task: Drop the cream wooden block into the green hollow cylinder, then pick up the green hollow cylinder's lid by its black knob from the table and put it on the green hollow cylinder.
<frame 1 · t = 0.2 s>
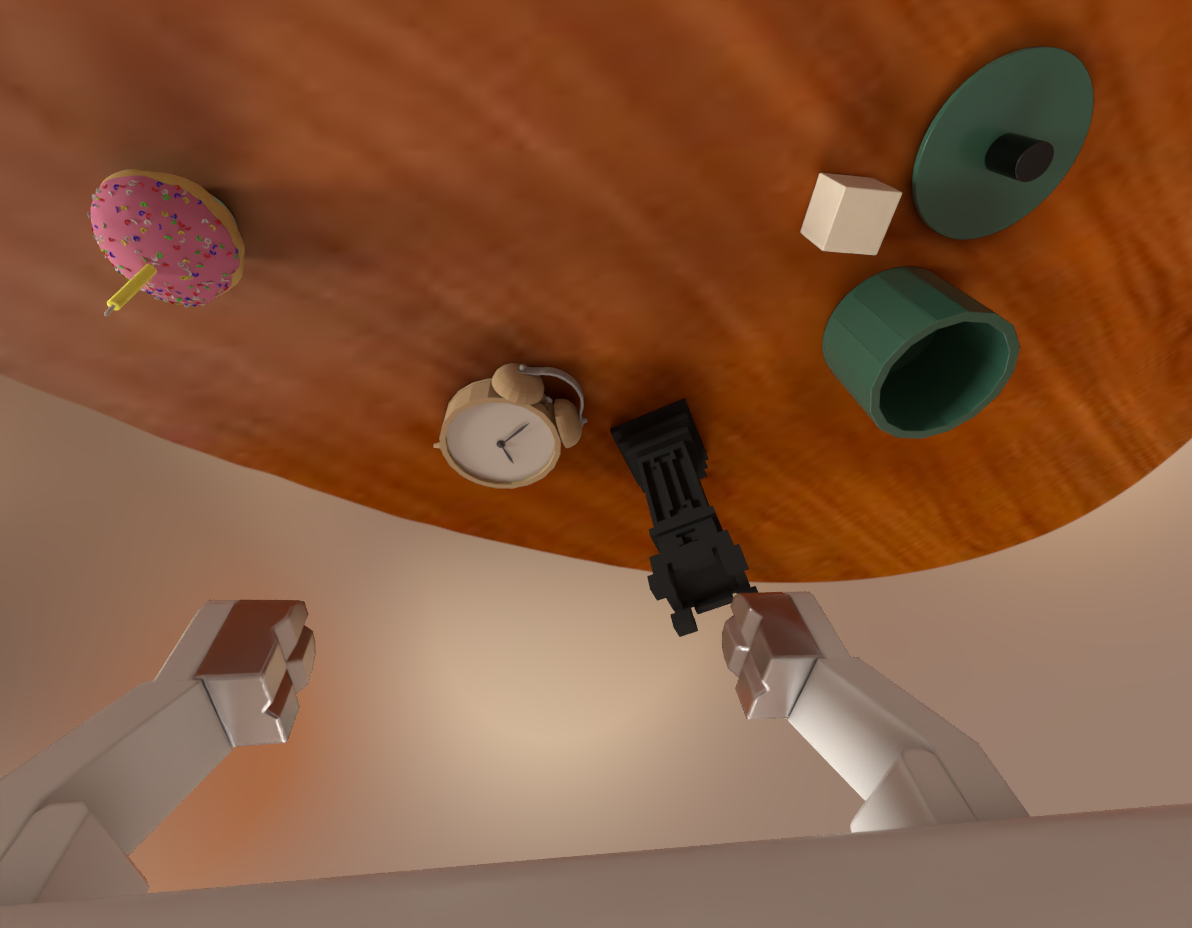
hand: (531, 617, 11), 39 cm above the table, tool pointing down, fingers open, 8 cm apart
chess piece: (659, 441, 58), on the table
green hollow cylinder: (883, 328, 52), on the table
cupcake: (201, 219, 40), on the table
lid: (996, 151, 42), point 1 cm above the table
alarm clock: (515, 412, 54), on the table
block: (835, 205, 44), on the table
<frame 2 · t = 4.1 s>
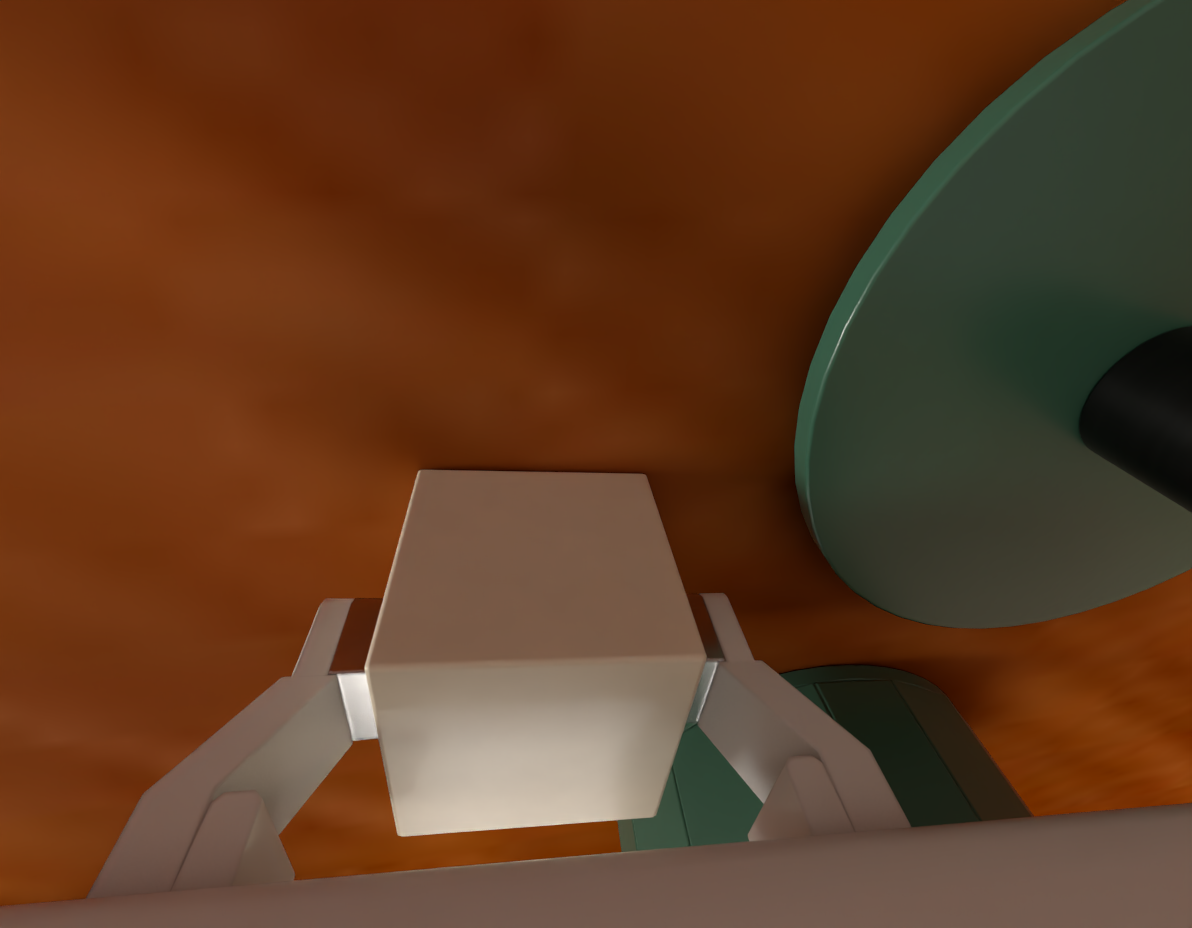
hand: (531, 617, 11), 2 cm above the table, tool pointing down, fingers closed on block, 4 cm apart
green hollow cylinder: (785, 772, 19), on the table
lid: (1120, 379, 11), point 1 cm above the table
block: (531, 554, 12), on the table, touching gripper
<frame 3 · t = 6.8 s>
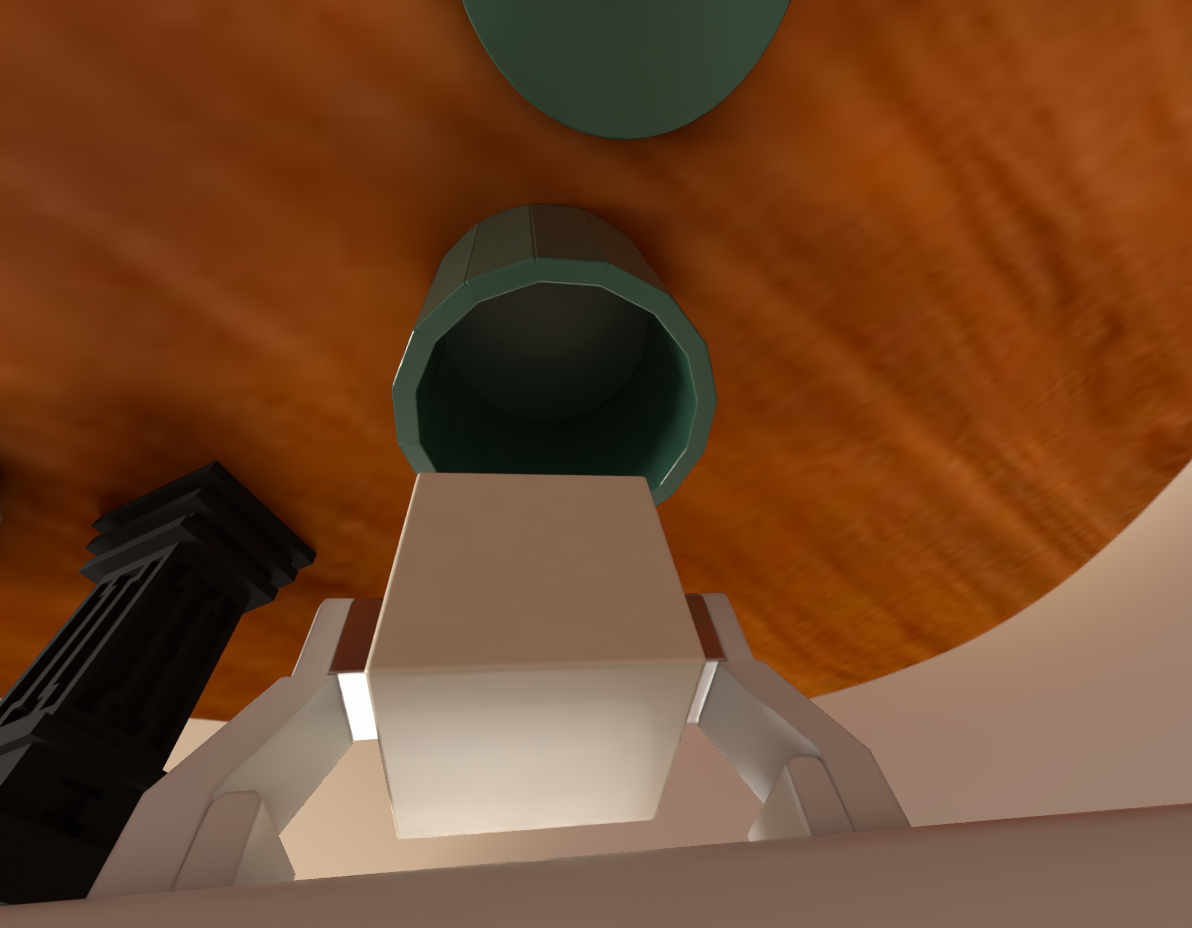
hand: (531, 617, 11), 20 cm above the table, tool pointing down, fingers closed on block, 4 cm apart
chess piece: (215, 534, 33), on the table
green hollow cylinder: (547, 328, 28), on the table
block: (531, 557, 12), point 18 cm above the table, touching gripper
when the fingers open (10 cm above the table, at t = 9.7 s): block drops 7 cm, resting on green hollow cylinder.
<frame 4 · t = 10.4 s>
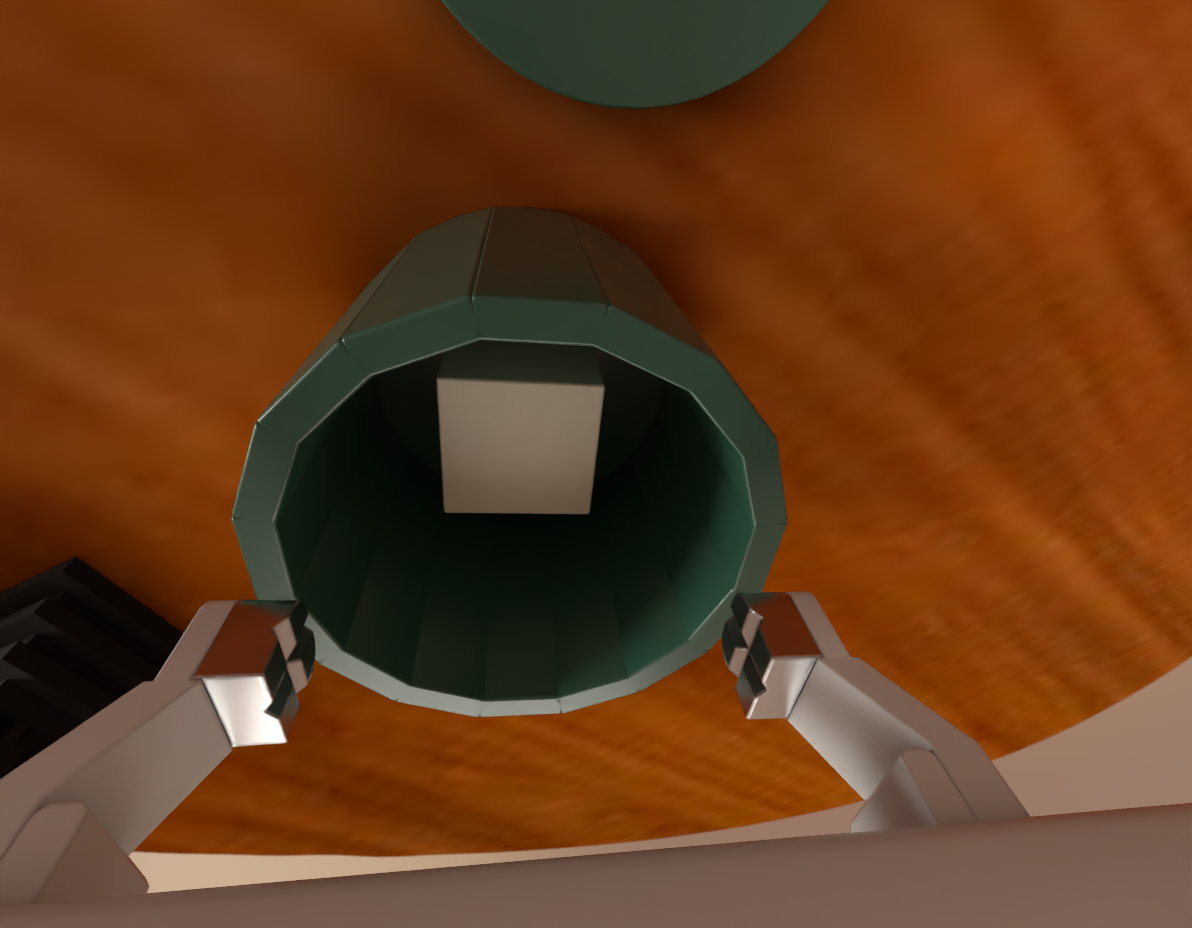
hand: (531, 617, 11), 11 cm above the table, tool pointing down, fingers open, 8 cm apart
chess piece: (89, 644, 25), on the table
green hollow cylinder: (525, 380, 20), on the table
block: (520, 386, 20), resting on green hollow cylinder
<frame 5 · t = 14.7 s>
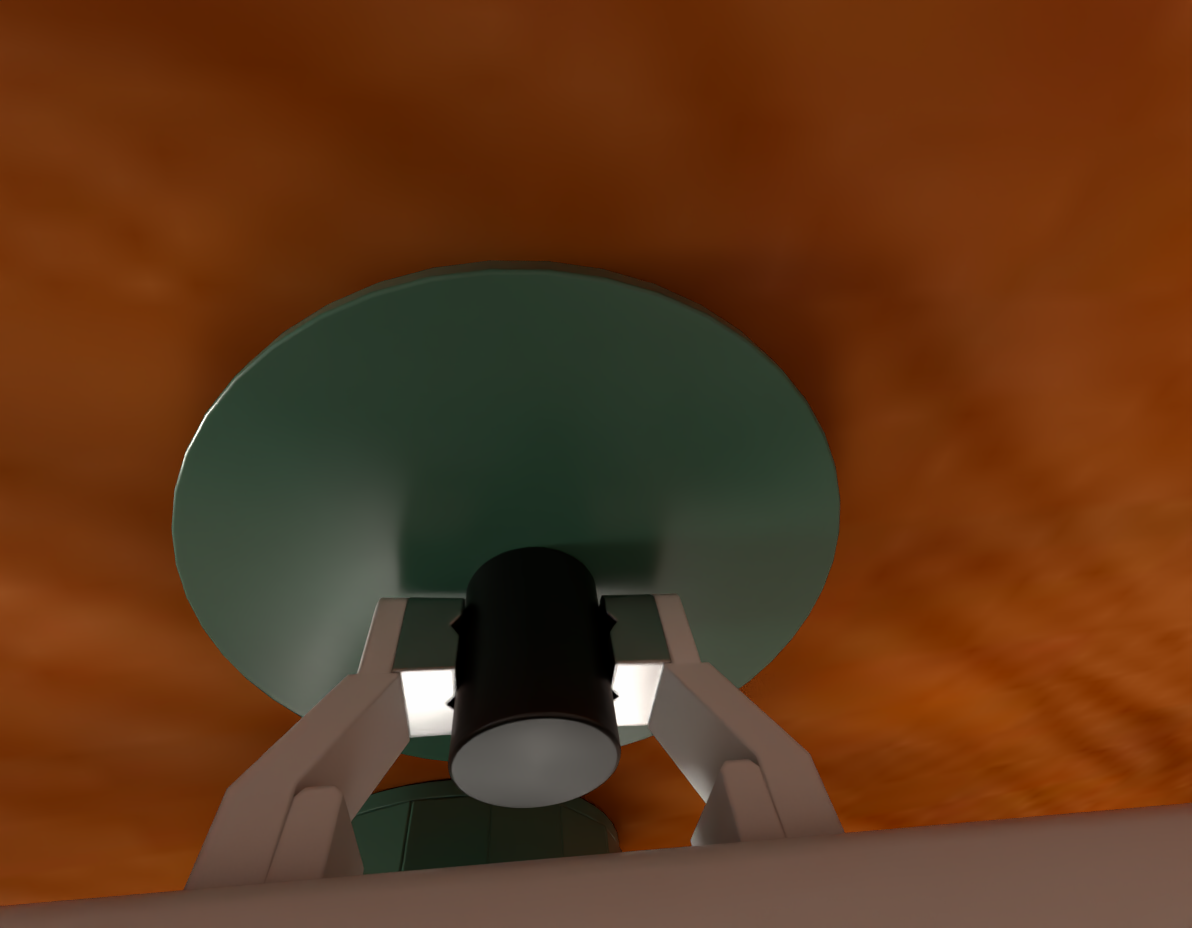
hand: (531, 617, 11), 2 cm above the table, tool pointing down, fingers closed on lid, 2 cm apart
green hollow cylinder: (459, 863, 20), on the table
lid: (531, 572, 12), point 1 cm above the table, touching gripper
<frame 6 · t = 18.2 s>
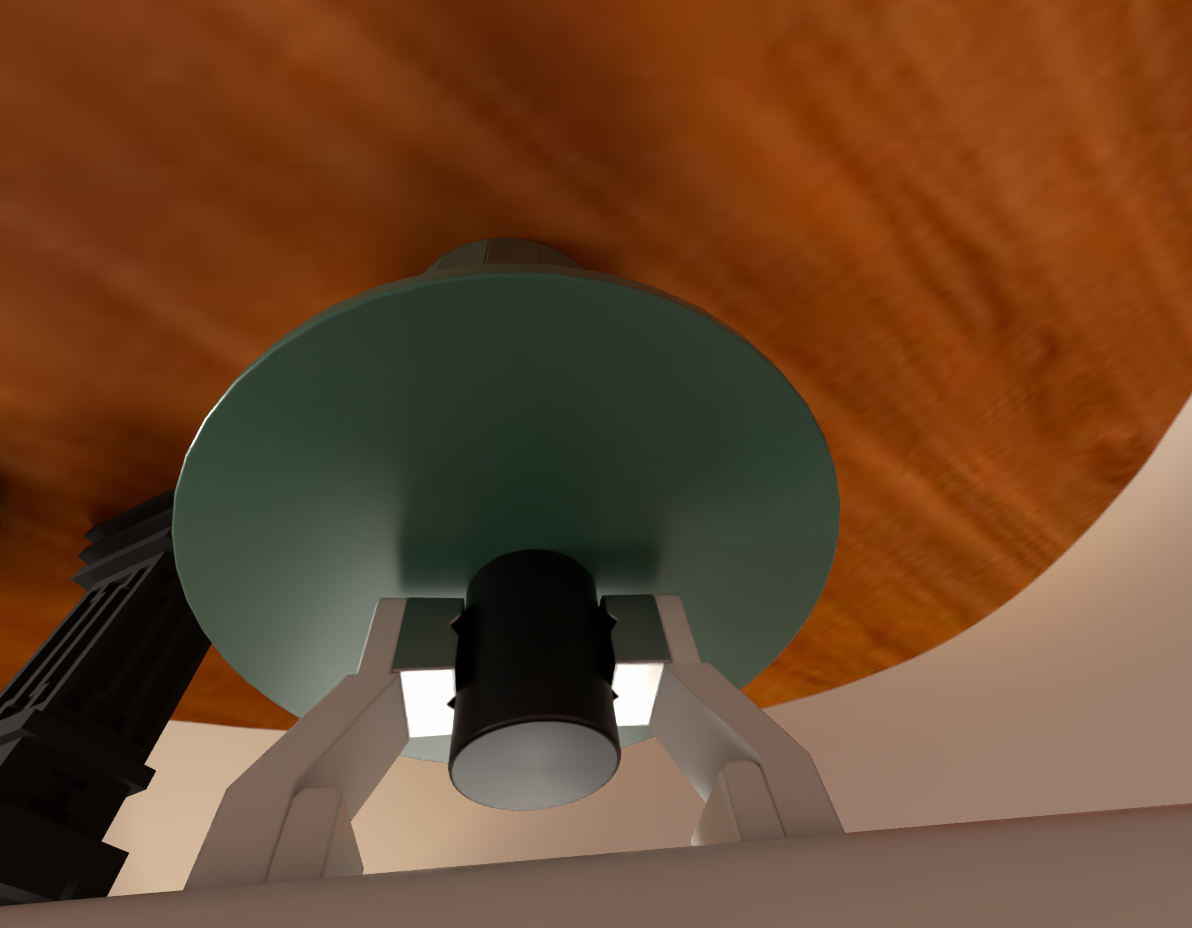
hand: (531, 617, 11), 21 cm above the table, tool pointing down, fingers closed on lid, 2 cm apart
chess piece: (201, 543, 35), on the table
green hollow cylinder: (511, 351, 30), on the table
lid: (531, 574, 12), point 20 cm above the table, touching gripper
when the fingers open (11 cm above the table, at t = 21.7 s): lid stays where it is, resting on green hollow cylinder.
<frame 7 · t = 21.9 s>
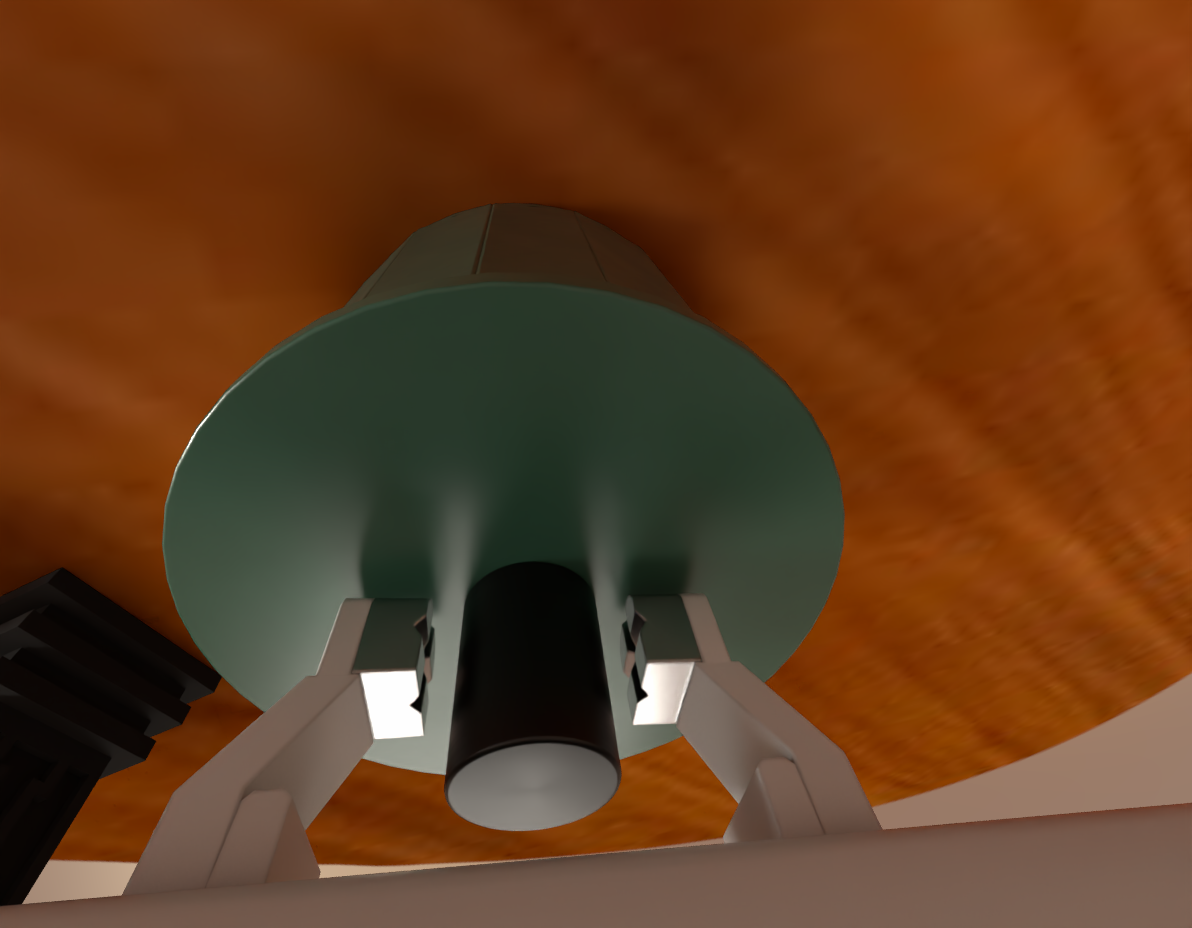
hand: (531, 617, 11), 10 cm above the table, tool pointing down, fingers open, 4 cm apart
chess piece: (78, 656, 24), on the table
green hollow cylinder: (526, 384, 19), on the table
lid: (530, 586, 12), point 9 cm above the table, touching green hollow cylinder
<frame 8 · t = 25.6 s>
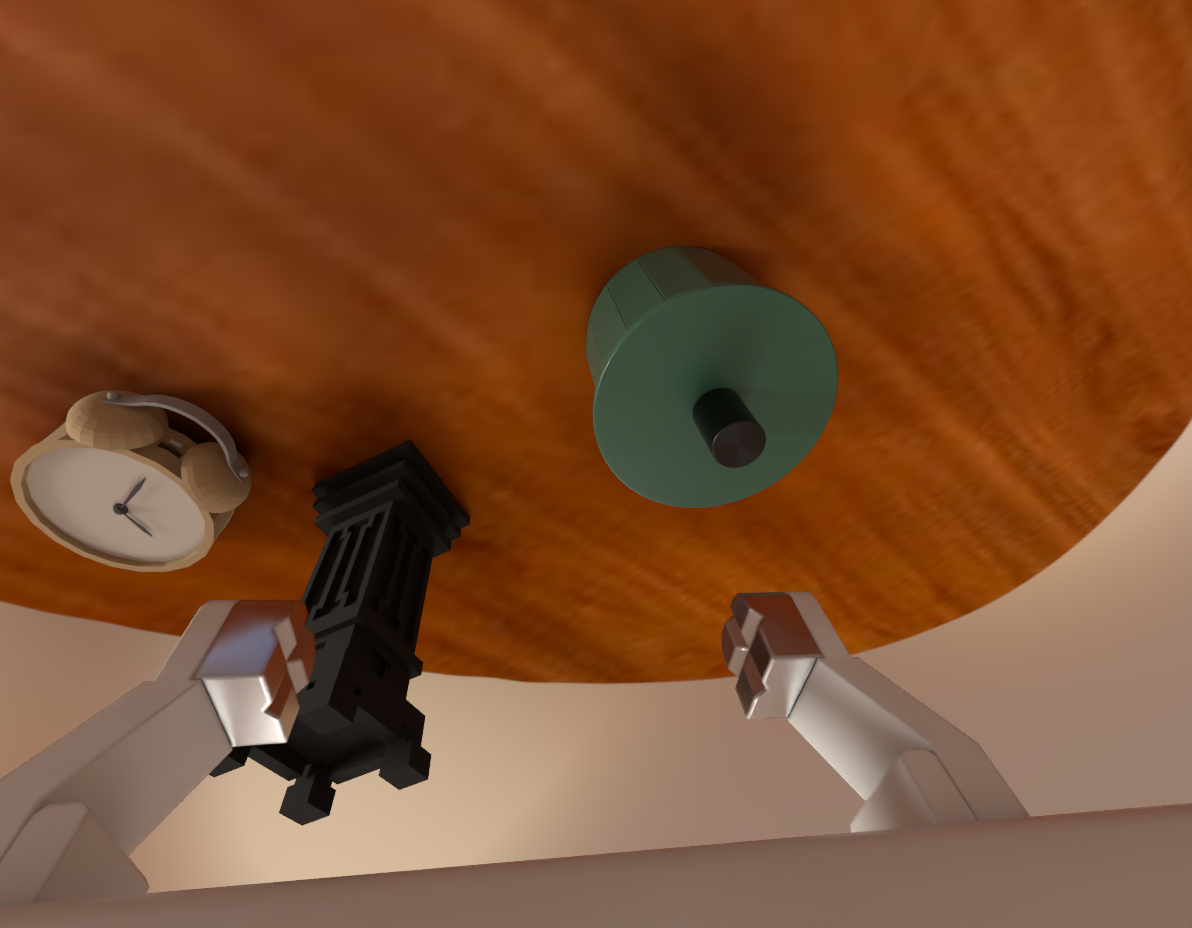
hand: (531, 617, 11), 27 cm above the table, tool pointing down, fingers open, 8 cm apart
chess piece: (395, 500, 42), on the table
green hollow cylinder: (672, 337, 37), on the table
lid: (713, 404, 29), point 9 cm above the table, touching green hollow cylinder
alarm clock: (162, 462, 38), on the table
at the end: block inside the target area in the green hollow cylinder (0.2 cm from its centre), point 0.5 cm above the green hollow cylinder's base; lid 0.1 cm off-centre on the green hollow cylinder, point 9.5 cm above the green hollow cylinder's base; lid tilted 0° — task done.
